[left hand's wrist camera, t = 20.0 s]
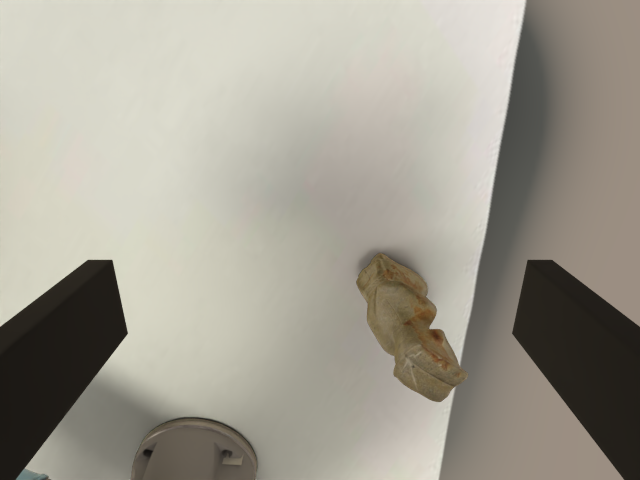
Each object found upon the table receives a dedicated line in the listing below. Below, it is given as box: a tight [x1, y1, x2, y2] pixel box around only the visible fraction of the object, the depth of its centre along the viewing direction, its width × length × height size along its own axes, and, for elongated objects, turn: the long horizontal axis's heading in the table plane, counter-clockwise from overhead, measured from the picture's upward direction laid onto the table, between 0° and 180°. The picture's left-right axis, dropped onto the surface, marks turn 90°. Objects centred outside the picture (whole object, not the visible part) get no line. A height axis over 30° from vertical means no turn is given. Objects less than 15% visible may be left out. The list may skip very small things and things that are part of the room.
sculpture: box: [356, 253, 468, 402], centre depth 35 cm, size 6×7×15 cm
